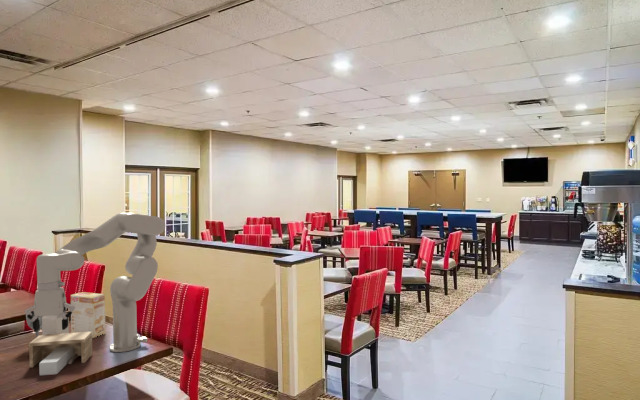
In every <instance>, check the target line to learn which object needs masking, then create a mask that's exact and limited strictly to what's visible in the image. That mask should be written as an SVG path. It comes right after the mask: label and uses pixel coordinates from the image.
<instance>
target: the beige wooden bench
mask: <svg viewBox="0 0 640 400" xmlns="http://www.w3.org/2000/svg"><path fill="white" fill-rule="evenodd" d="M28 345H29V347H28V348H29V349H28V350H29V352H28V355H29V358H28V359H29V368H34V367H35V366H36V365H38V363H40V362H41V361H42V360H43V359H45V358H46V357H47V356H48V355H49V354H50V353H52V352H53V351H54V350H55V349H56V348H57V347H67V346H73V348H74V356H73V357H72V358H71V359H70V360H69V361H68V363H67V364H68V365H72V364H73V362H74V361H75V360H76V359H77V358H78V357H81V364H86V362H87V361H88V360H89V359H90V357H91V356H92V355H93V338H92V332H78V333H71V332H69V333H64V334H49V335H42V334H39V336H38V337H37V338H36V337H35V338H34V339H32V341H30V342H29V343H28Z"/></svg>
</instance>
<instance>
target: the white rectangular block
mask: <svg viewBox="0 0 640 400" xmlns="http://www.w3.org/2000/svg"><path fill="white" fill-rule="evenodd" d="M73 356H74V348H73V346H67V347H57V348H56V349H55V350H54V351H53V352H52V353H50V354H49V355H48V356H47V357H46V358H45V359H42V360H41V361H39V362H38V363H39V364H38V366H39V367H38V368H39V376H49V375H58V373H60V372H61V370H63V369H64V368H65V367H66V365H67V364H68V361H69V360H70V359H71V358H72V357H73Z"/></svg>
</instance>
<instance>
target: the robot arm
mask: <svg viewBox="0 0 640 400" xmlns="http://www.w3.org/2000/svg"><path fill="white" fill-rule="evenodd" d="M165 229H166V223H165V221H164V219H163V218H161V217H159V216H154V215H147V214H146V215H145V214H140V213H136V212H135V213H134V212H118V213H117V214H115V215H113V216H112V217H110V218H109V219H108V220H106V221H105V222H103V223H102V224H100V225H99V226H98V227H96V228H95V229H93V230H91V231H89V232H87V233H84V234H83V235H81V236H78V237H76V238H75V239H73V240H71V241H70V242H68V243H66V244H65V245H63V246H62V247H61V248H59V249H58V250H56V252H55V253H52V252H51V253H43V254H39V255H38V256H37V257H36V278H37V279H36V280H37V290H35V293H34V300H33V301H34V302H33V305H32V306H29V307H28V308H27V309H24V311H23V312H24V314H25V316H26V315H27V317H28V318H29V319H30V320H31V321H32V322H33V329H34V330H33V329H32V330H33V332H34V333H35V332H37V331H38V330H39V329H40V321H39V319H38V318H39V316H55V315H60V316H61V317H62V318H63V320H62V330H65V329H66V328H67V327H68V317H71V314H72V313H73V311H74V309H75V306H73V305H71V303H67V297H66V292H65V288H64V287H63V286H65V284H66V282H64V281H62V279H61V272H64V271H66V272H67V271H71V272H72V271H76V270H79V269H80V268H81V267H83V265H84V264H85V257H84V256H83V255H84V254H86V253H88V252H92V251H94V250H99V249H102V248H106V247H108V246H109V245H110V244H112V243H113V242H114V241H115V240H117V239H118V238H120V237H122V235H124V234H125V233H132V234H137V241H136V244H135V246H134V248H133V249H132V252H131V254H130V255H129V257H128V258H127V260H126V262H125V265H124V268H125V272H127V273H128V274H129V275H131V276H128V275H121V276H117V277H115V279H113V280H112V282H111V284H110V287H109V293H110V297H111V302H112V303H111V304H112V329H113V330H112V331H113V334H112V335H113V339H112V342H113V343H111V344H110V345H109V351H111V352H114V353H126V352H131V351H134V350H136V349H138V348H139V347H140V346H141V345H142V343H147V342H148V338H147V337H146V336H140V334H139V333H138V329H137V325H138V323H137V322H138V321H137V320H138V319H137V318H138V317H137V314H138V313H137V301H141V299H143V297H144V296H145V295H146V294H147V292H148V290H149V289H150V286H151V285H152V282H153V281H154V280H155V277H156V275H157V272H158V269H159V265H158V261H157V260H156V259H155V258H154V257H153V255H154V252H155V250H156V249H157V243H158V241H157V237H156V236H159V235H161V234H162V233H163V232H164V231H165ZM67 309H68V310H69V311H68V312H67ZM33 310H34V315H35V316H34V315H33V314H32V313H31V311H33ZM40 330H41V329H40Z"/></svg>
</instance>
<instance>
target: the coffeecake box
mask: <svg viewBox="0 0 640 400" xmlns="http://www.w3.org/2000/svg"><path fill="white" fill-rule="evenodd" d="M105 298H106V297H105V294H104V293H96V292H86V291H81V292H78V293H73V294H70V305H73V306H75V309H74V311H73V313H72V314H71V315H70V324H71V325H70V326H71V327H70V328H71V329H70V330H71V332H70V333H78V332H92V339H94V338H95V339H96V338H98V337H100V335H101V336H103V335H106V310H105V309H106V308H105V307H106V305H105V304H106V301H105V300H106V299H105ZM102 334H103V335H102ZM97 336H98V337H97Z"/></svg>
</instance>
